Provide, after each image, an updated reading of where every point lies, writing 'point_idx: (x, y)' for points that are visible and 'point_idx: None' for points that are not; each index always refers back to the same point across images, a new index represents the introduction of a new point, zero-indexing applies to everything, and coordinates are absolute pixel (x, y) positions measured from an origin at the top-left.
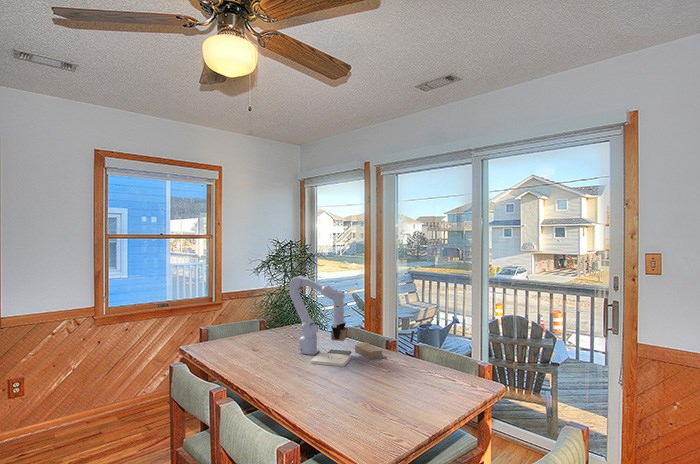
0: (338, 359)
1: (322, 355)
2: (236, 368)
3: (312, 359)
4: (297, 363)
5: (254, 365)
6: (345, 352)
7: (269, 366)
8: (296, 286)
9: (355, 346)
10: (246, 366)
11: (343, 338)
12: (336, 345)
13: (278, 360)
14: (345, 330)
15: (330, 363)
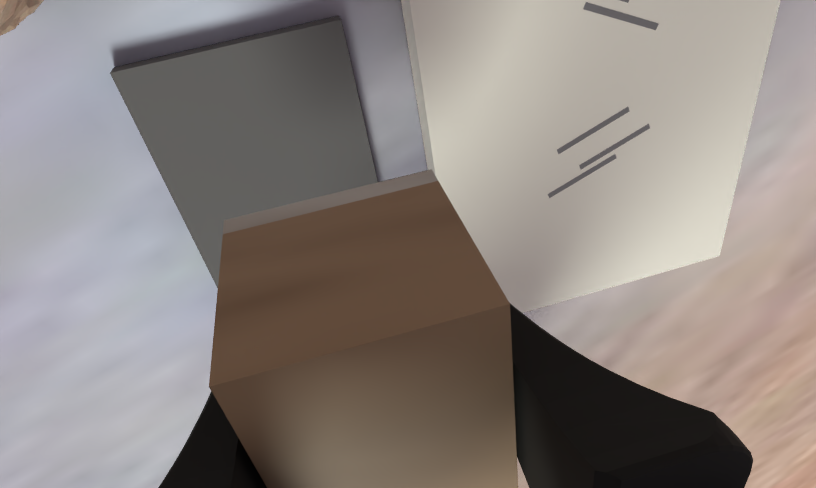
0: (649, 2)
1: (547, 257)
2: (806, 474)
3: (688, 260)
4: (708, 317)
5: (761, 456)
6: (237, 112)
7: (777, 399)
8: None
9: (12, 10)
10: (777, 468)
11: (434, 201)
12: (11, 385)
13: None
14: (270, 366)
15: (762, 36)
